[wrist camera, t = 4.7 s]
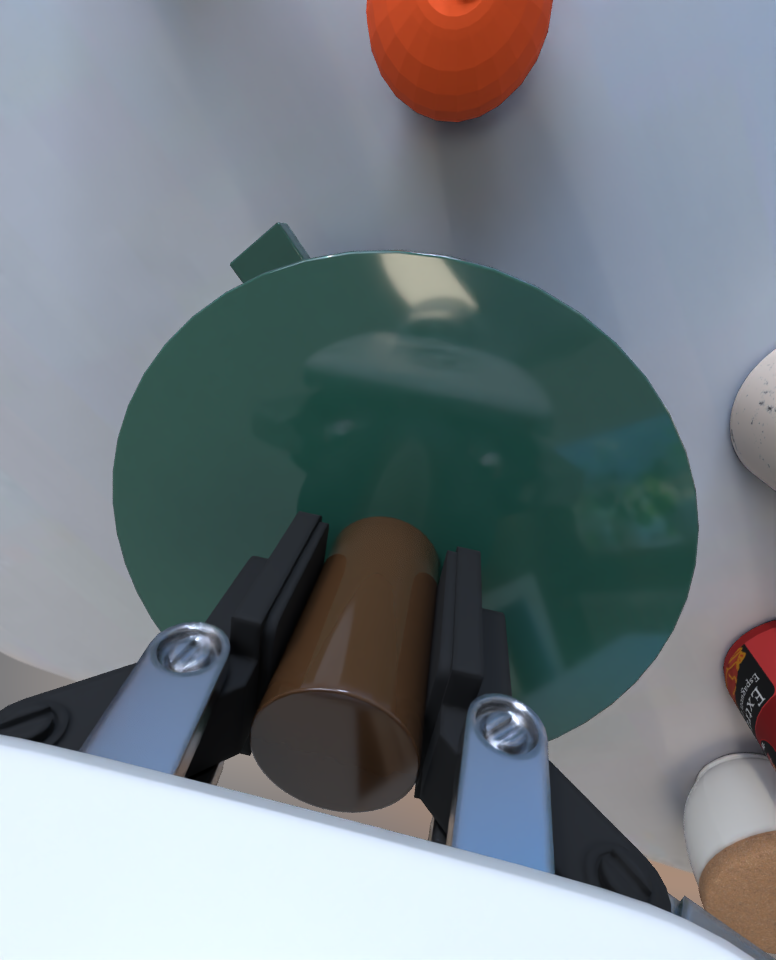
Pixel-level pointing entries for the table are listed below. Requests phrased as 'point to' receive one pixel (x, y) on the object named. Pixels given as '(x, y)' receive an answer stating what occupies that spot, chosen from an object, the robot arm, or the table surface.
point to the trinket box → (736, 844)
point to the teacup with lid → (757, 421)
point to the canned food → (755, 683)
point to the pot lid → (407, 497)
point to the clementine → (456, 51)
